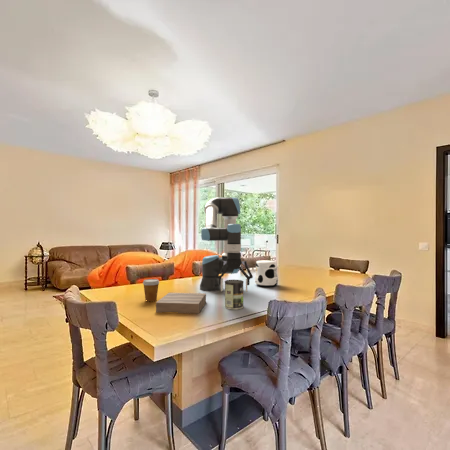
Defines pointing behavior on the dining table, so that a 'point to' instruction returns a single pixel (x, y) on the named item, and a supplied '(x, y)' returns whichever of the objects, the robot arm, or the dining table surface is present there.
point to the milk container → (266, 273)
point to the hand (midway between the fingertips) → (234, 291)
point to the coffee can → (234, 294)
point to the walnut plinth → (181, 302)
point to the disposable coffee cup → (151, 289)
